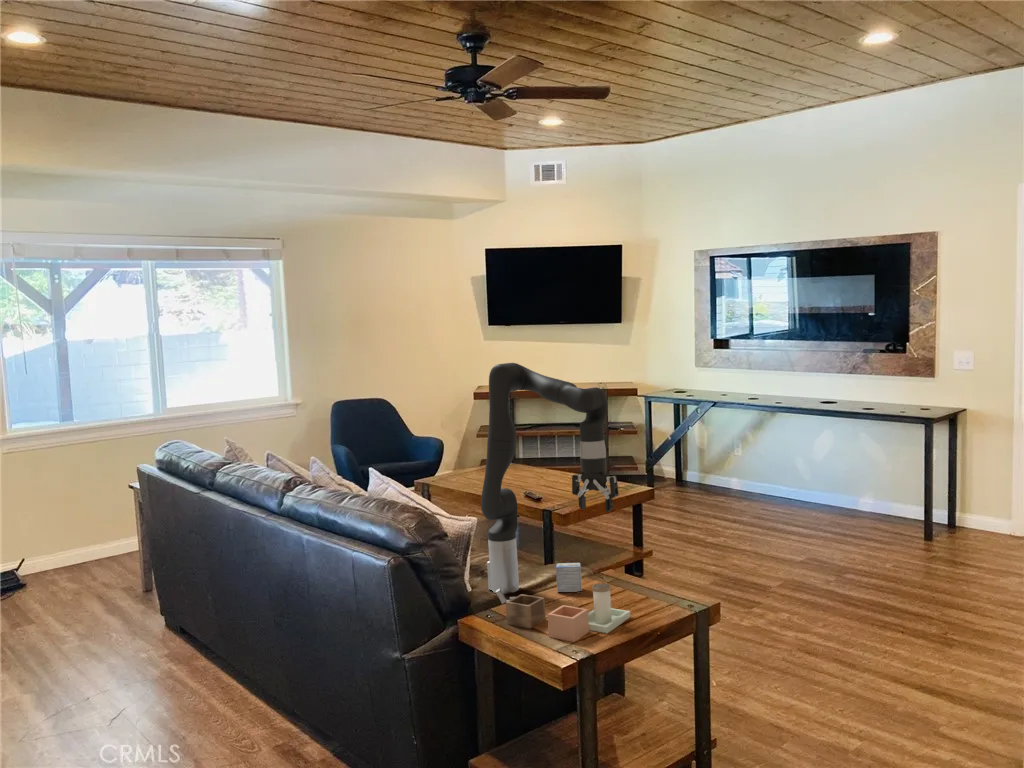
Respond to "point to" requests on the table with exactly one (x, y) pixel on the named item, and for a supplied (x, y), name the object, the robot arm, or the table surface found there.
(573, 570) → the medicine box
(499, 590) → the lighter
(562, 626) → the pink square bin
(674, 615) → the table surface
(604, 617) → the cream canister
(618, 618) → the sage tray
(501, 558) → the robot arm
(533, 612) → the brown open square box
